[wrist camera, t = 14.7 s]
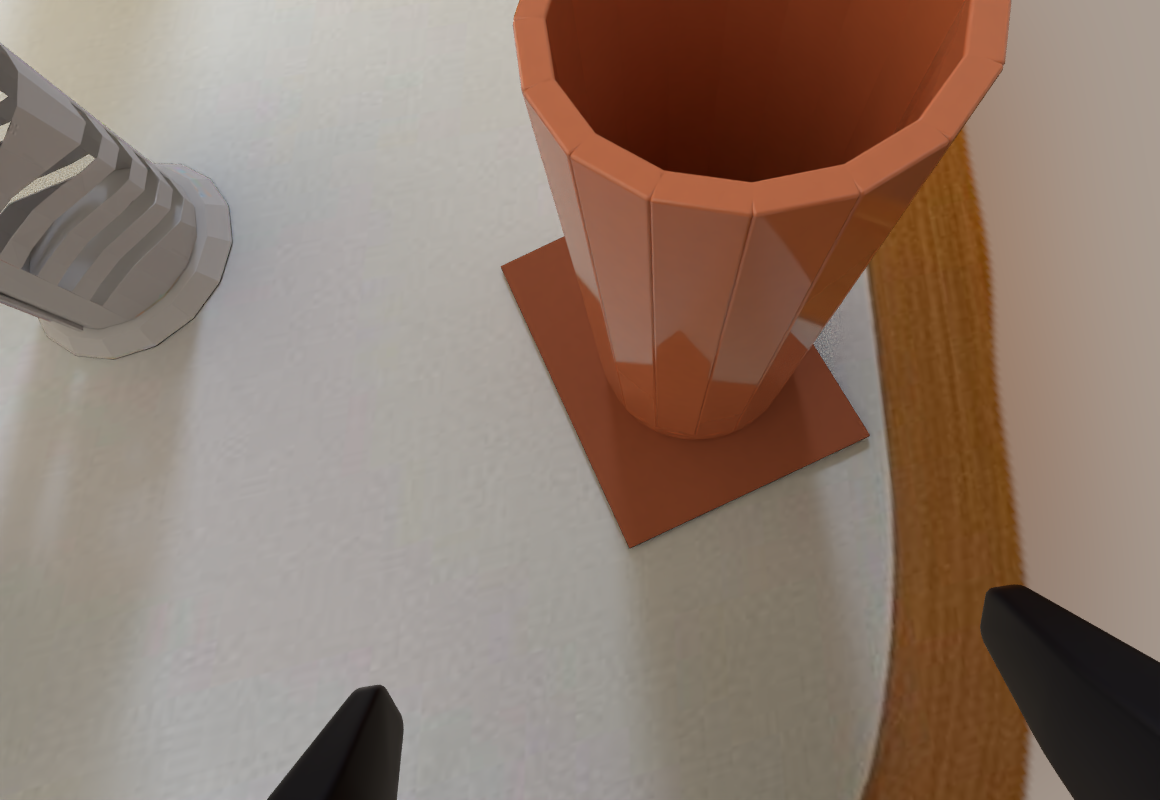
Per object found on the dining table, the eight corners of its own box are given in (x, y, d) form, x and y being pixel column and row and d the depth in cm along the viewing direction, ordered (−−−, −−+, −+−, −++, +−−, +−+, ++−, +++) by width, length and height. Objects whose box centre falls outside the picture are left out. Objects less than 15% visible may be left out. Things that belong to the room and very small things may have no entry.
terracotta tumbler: (770, 459, 20) (988, 249, 7) (584, 417, 21) (457, 172, 8) (801, 286, 22) (1030, -166, 8) (626, 257, 23) (578, -176, 9)
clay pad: (868, 436, 20) (870, 435, 20) (629, 548, 20) (629, 548, 20) (704, 173, 24) (704, 169, 23) (501, 268, 24) (500, 266, 23)
